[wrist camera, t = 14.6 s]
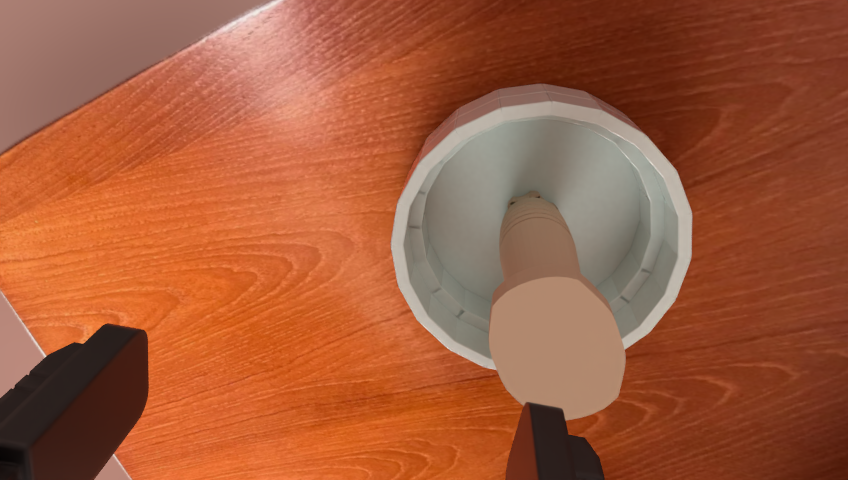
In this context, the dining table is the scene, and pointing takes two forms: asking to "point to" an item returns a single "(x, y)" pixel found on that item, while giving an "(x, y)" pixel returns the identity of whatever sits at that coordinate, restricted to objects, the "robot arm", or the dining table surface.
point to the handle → (551, 317)
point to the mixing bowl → (557, 183)
